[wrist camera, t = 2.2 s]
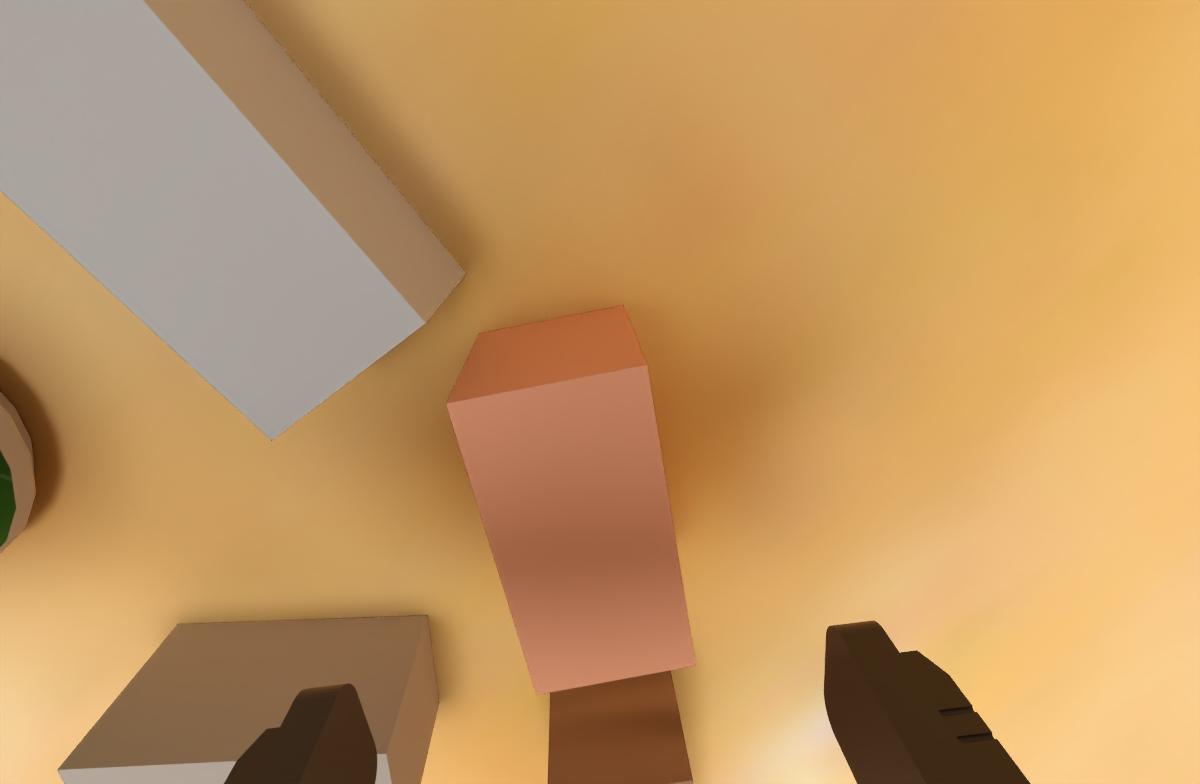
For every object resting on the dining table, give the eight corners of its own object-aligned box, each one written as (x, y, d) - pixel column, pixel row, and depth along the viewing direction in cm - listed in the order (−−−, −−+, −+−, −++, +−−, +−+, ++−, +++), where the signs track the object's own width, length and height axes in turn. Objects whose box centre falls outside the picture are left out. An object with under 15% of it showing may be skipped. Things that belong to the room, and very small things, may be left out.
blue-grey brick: (103, 94, 13) (-139, 62, 9) (225, -25, 13) (31, -127, 8) (355, 358, 16) (271, 440, 11) (467, 272, 15) (425, 323, 11)
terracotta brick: (479, 331, 16) (445, 403, 11) (623, 304, 16) (647, 365, 11) (543, 564, 19) (536, 695, 14) (663, 541, 19) (695, 665, 14)
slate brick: (209, 709, 21) (107, 870, 16) (180, 621, 19) (57, 770, 14) (439, 699, 21) (404, 852, 16) (428, 612, 20) (386, 754, 15)
